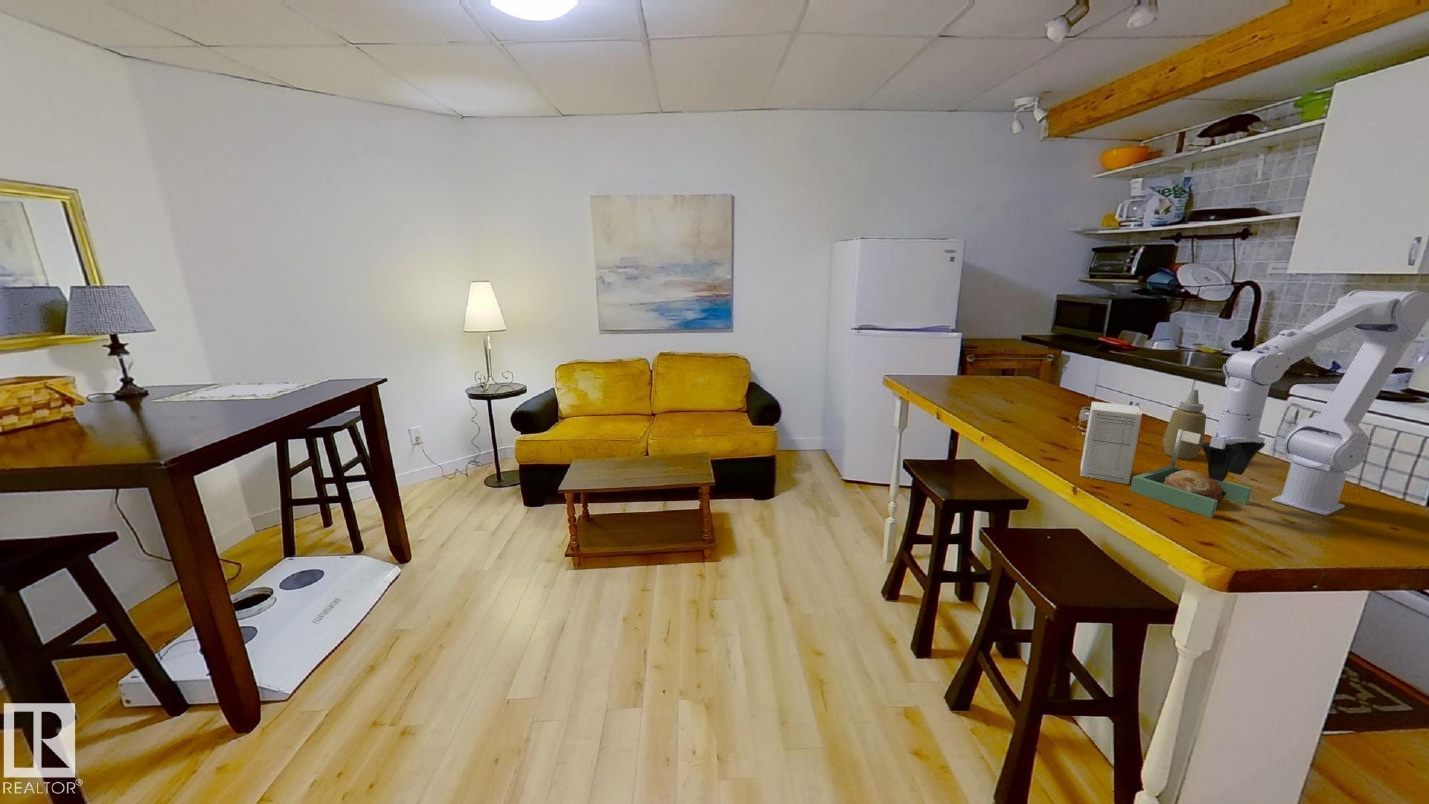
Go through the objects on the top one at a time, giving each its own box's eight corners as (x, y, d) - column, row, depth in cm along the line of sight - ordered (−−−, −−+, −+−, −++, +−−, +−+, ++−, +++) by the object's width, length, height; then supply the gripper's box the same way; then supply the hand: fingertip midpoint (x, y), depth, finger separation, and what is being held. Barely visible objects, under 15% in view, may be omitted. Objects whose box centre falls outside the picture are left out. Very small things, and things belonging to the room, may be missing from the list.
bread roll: (1163, 502, 118) (1150, 469, 118) (1223, 493, 112) (1209, 459, 112) (1170, 519, 110) (1156, 484, 110) (1235, 510, 104) (1220, 473, 104)
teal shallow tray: (1167, 479, 121) (1179, 428, 118) (1248, 503, 109) (1263, 447, 106) (1129, 491, 115) (1141, 437, 112) (1210, 517, 102) (1225, 458, 99)
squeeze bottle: (1152, 450, 141) (1166, 386, 137) (1185, 451, 140) (1200, 386, 135) (1173, 460, 133) (1189, 393, 129) (1208, 462, 132) (1225, 394, 128)
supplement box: (1126, 472, 125) (1140, 405, 121) (1130, 485, 118) (1145, 414, 114) (1079, 464, 131) (1090, 400, 127) (1079, 476, 123) (1091, 408, 119)
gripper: (1251, 422, 96) (1233, 489, 99) (1286, 412, 102) (1268, 477, 105) (1203, 413, 102) (1188, 477, 105) (1239, 404, 108) (1224, 465, 111)
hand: (1225, 476), depth 106 cm, fingers open, 7 cm apart
